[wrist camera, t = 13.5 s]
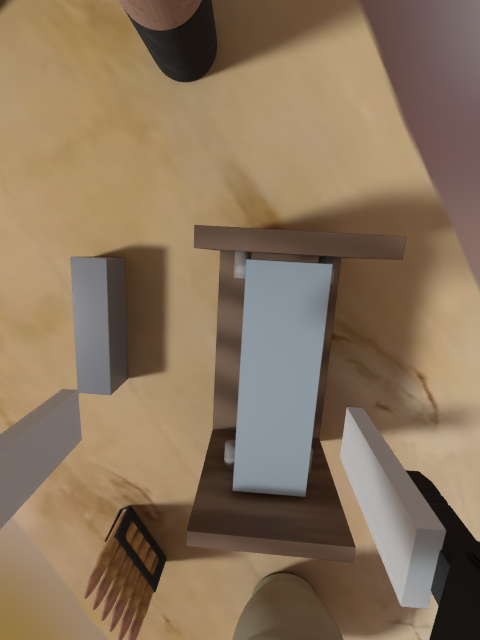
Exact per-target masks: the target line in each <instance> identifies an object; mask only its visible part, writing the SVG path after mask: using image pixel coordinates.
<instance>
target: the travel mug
mask: <svg viewBox="0 0 480 640" xmlns="http://www.w3.org/2000/svg"><path fill="white" fill-rule="evenodd" d="M119 1H120V3H121V4H122V6H123V8H124V10H125V11H126V13H127V15H128V16H129V18H130V20H131V22H132V23H133V25H134V27H135V28H136V30H137V32H138V33H139V35H140V37H141V38H142V40H143V42H144V44H145V45H146V47H147V49H148V50H149V52H150V54H151V55H152V57H153V59H154V60H155V62H156V64H157V65H158V67H159V68H160V69H161V71H162V72H163V73H164V74H165V75H167V76H168V77H169V78H171V79H173V80H175V81H179V82H191V81H195V80H197V79H199V78H200V77H202V76H203V75H204V74H205V73H206V72H207V71H208V70H209V69H210V67H211V65H212V63H213V61H214V59H215V55H216V50H217V38H216V29H215V22H214V14H213V7H212V0H119Z"/></svg>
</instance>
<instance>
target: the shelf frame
mask: <svg viewBox="0 0 480 640" xmlns="http://www.w3.org/2000/svg"><path fill="white" fill-rule="evenodd" d="M405 241H406V237H405V236H386V235H368V234H350V233H331V232H313V231H295V230H276V229H258V228H240V227H222V226H203V225H194V248H200V249H210V250H219V251H220V271H219V294H218V318H217V341H216V365H215V388H214V411H213V431H212V434H211V438H210V442H209V446H208V450H207V454H206V458H205V462H204V466H203V470H202V473H201V477H200V481H199V485H198V489H197V493H196V497H195V501H194V505H193V509H192V513H191V516H190V520H189V524H188V528H187V540H186V546H192V547H202V548H212V549H222V550H232V551H243V552H253V553H263V554H273V555H283V556H293V557H304V558H314V559H324V560H334V561H344V562H353V561H354V555H355V549H356V547H355V544H354V541H353V538H352V535H351V532H350V529H349V526H348V523H347V520H346V517H345V514H344V511H343V508H342V505H341V502H340V499H339V496H338V493H337V490H336V487H335V484H334V481H333V478H332V475H331V472H330V469H329V466H328V463H327V460H326V457H325V454H324V451H323V448H322V445H321V442H320V439H319V436H320V427H321V419H322V411H323V403H324V395H325V387H326V378H327V370H328V362H329V354H330V346H331V338H332V329H333V321H334V313H335V305H336V297H337V288H338V280H339V272H340V264H341V258H365V259H392V260H403V254H404V248H405ZM247 259H261V260H278V261H295V262H313V263H326V264H333V265H332V273H331V282H330V290H329V299H328V307H327V316H326V324H325V333H324V342H323V350H322V359H321V367H320V376H319V384H318V393H317V401H316V410H315V418H314V427H313V436H312V444H311V453H310V461H309V470H308V478H307V487H306V495H305V497H302V496H290V495H278V494H265V493H253V492H241V491H233V476H234V460H235V443H236V426H237V410H238V393H239V377H240V360H241V343H242V327H243V310H244V293H245V277H246V260H247Z"/></svg>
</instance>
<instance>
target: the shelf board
mask: <svg viewBox="0 0 480 640" xmlns="http://www.w3.org/2000/svg"><path fill="white" fill-rule="evenodd" d="M332 265H333V264H326V263H313V262H295V261H278V260H261V259H247V260H246V277H245V293H244V310H243V327H242V343H241V360H240V377H239V393H238V410H237V426H236V443H235V460H234V476H233V491H241V492H253V493H265V494H278V495H290V496H302V497H305V495H306V487H307V478H308V470H309V461H310V453H311V444H312V436H313V427H314V418H315V410H316V401H317V393H318V384H319V376H320V367H321V359H322V350H323V342H324V333H325V324H326V316H327V307H328V299H329V290H330V282H331V273H332Z"/></svg>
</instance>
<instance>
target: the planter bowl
mask: <svg viewBox="0 0 480 640" xmlns="http://www.w3.org/2000/svg"><path fill="white" fill-rule="evenodd" d="M233 640H343V637H342V635H341V633H340V631H339V629H338V627H337V625H336V623H335V621H334V619H333V617H332V616H331V614H330V613H329V611H328V610H327V608H326V607H325V606H324V604H323V603H322V602H321V601H320V600H319V598H318V597H317V596H316V595H315V593H314V591H313V589H312V587H311V586H310V585H309V583H307V582H306V581H305V580H304V579H302V578H301V577H298V576H296V575H293V574H287V573H278V574H273V575H270V576H267V577H265V578H264V579H262V580H261V581H260V582H259V583H258V584H257V586H256V587H255V589H254V592H253V596H252V597H251V599H250V600H249V602H248V603H247V605H246V606H245V608H244V610H243V612H242V614H241V616H240V618H239V621H238V623H237V626H236V629H235V632H234V635H233Z"/></svg>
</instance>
